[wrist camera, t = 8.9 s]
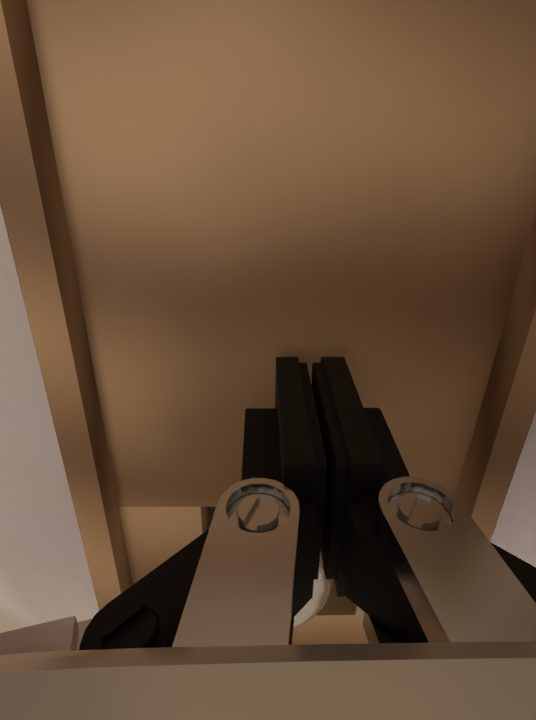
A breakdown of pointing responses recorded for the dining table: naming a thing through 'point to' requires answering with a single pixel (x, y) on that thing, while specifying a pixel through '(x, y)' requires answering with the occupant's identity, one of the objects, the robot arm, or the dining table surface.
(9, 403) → the dining table surface
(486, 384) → the track
